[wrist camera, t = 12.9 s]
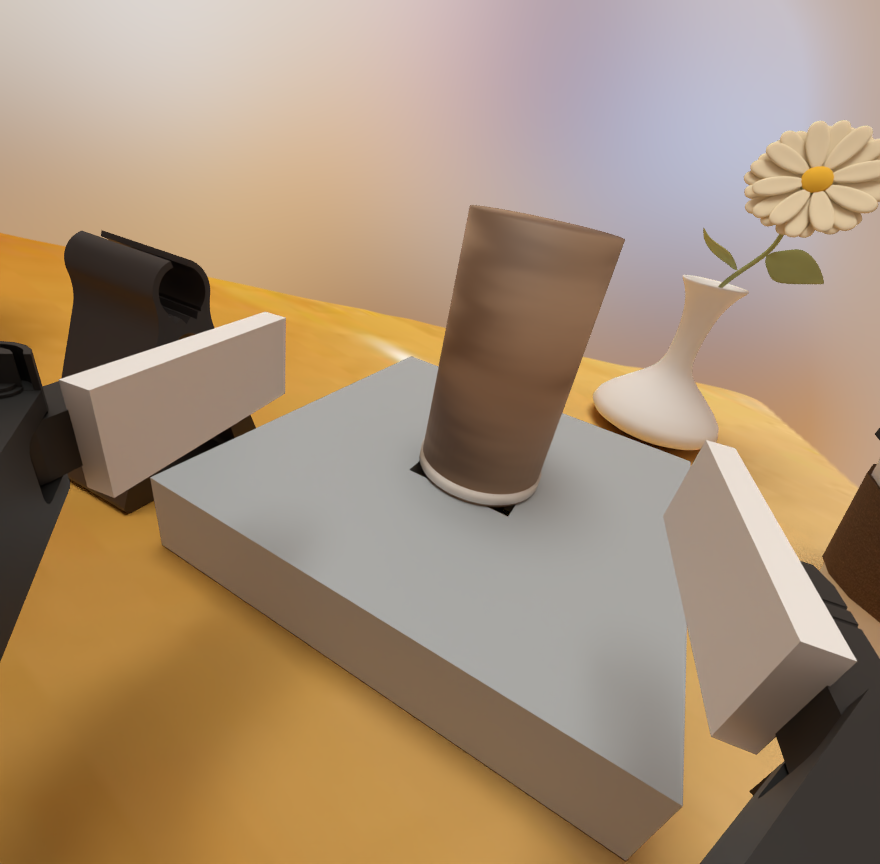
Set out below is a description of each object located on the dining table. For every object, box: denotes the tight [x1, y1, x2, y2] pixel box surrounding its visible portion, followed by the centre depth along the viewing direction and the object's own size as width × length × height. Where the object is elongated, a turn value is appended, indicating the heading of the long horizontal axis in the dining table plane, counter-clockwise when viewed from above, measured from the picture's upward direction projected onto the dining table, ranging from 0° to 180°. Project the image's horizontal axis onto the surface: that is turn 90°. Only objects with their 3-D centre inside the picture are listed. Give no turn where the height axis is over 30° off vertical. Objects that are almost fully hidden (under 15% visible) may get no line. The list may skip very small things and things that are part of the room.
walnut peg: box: [419, 205, 625, 514], centre depth 22 cm, size 7×7×16 cm
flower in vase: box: [593, 120, 880, 450], centre depth 36 cm, size 13×11×25 cm
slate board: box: [150, 357, 690, 861], centre depth 26 cm, size 22×22×4 cm
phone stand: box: [61, 231, 256, 513], centre depth 24 cm, size 9×6×12 cm, turn 154°
